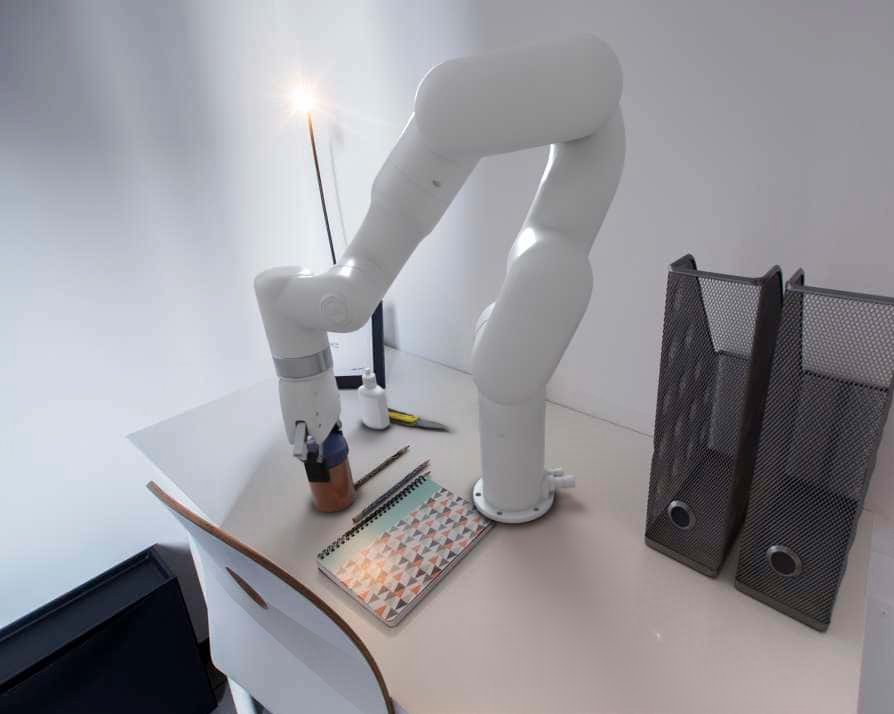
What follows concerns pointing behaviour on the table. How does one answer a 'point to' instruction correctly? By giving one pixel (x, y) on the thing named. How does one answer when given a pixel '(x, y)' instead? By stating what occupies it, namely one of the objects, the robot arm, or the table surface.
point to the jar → (334, 489)
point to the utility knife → (412, 420)
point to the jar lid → (333, 449)
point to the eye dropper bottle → (373, 402)
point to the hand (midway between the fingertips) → (328, 465)
